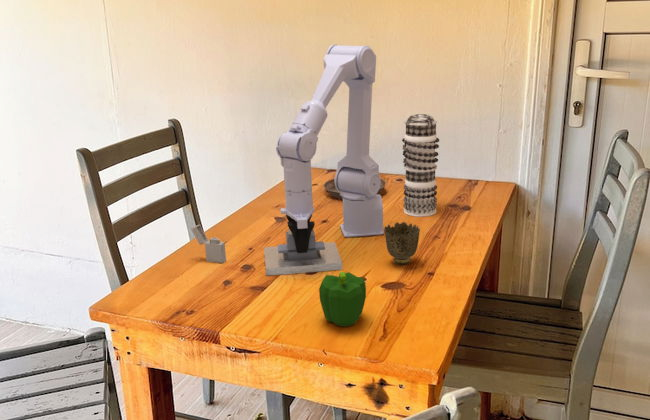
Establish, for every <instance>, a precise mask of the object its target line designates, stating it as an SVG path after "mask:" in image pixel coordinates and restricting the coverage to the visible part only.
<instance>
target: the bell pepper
mask: <svg viewBox="0 0 650 420" xmlns="http://www.w3.org/2000/svg"><path fill="white" fill-rule="evenodd" d="M366 284H367V283H366V280H365V279H364V277H362V276H361V277H359V276H357V275H355V274H353V273H351V272H349V271H347V272H345V271H340V272H339V273H338V275H334V274H333V275H330V274H325V276H324V278H323V279H322V281H321V282H320V284H319V288H318V292H319V301H320V305H321V309H322V312H323V315H324V317H325V319H326V320H327V321H328V322H330V323H334V325H337V326H339V327H349V326H354V325H355V324H356V323H357V322H358V321H359V320H360V318H361V316H362V313H363V310H364V306H365V303H366V298H367V286H366Z"/></svg>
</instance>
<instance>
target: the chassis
mask: <svg viewBox="0 0 650 420" xmlns="http://www.w3.org/2000/svg"><path fill="white" fill-rule="evenodd" d="M324 245H325V250H316V259H311V260H298V261H288V256H287V253H278V245H277V246H267V247H265V246H264V247H263V253H264V254H263V255H264V262H265V265H264V266H265V276H267V277H268V276H278V275H279V276H280V275H291V274H293V275H294V274H303V273H307V274H308V273H317V272H331V271H342V270H343V261H342V257H341V255H340V253H339V250H338V246H337V245H336V242H335V241H332V242H324Z"/></svg>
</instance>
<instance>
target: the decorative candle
mask: <svg viewBox="0 0 650 420" xmlns="http://www.w3.org/2000/svg"><path fill="white" fill-rule="evenodd" d="M404 124H405V133H404V138H402V139H401V140H402V142H403V145H402V150H403V151H402V155H403V157H404V158H403V161H402V163H403V170H405V178H404V185H403V189H404V191H403V195H404V197H403V212H404V214H405V215H408V216H411V217H417V218H418V217H421V218H423V217H430V216H433V215H435V214H436V213H437V202H438V198H437V197H436V196H437V193H438V191H436V190H437V189H438V185H437V181H436V180H437V178H436V170H438V165H437V164H436V163H437V162H438V161H439V159H438V158H437V157H438V156H439V152H437V151H436V150H437V149H438V148H440V145H439V144H438V143H439V142H440V139H439V137H437V124H438V121H437V120H435V119H434V117H433V116H432V115H430V114H427V113H426V114H425V113H418V114H411V115H410V116H408V118H407V119H406V120H405V121H404Z"/></svg>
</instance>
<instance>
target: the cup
mask: <svg viewBox="0 0 650 420" xmlns="http://www.w3.org/2000/svg"><path fill="white" fill-rule="evenodd" d="M383 232H384V235H385V236H384V237H385V245H386V250H387V252H388V254H389V255H390V256H391V257H393V263H395V264H396V265H398V266H405V265H409V264H410V263H411V261H412V259H411V258H412V257H414V255H415V254H416V252H417V251H418V247H419V239H420V232H421V228H420V227H419V225H417V223H416V224H414V225H413V223H409V224H407V222H405V221H402V222H401V223H399V222H395V223H394V226H391V224H387V226H384V227H383Z"/></svg>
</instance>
